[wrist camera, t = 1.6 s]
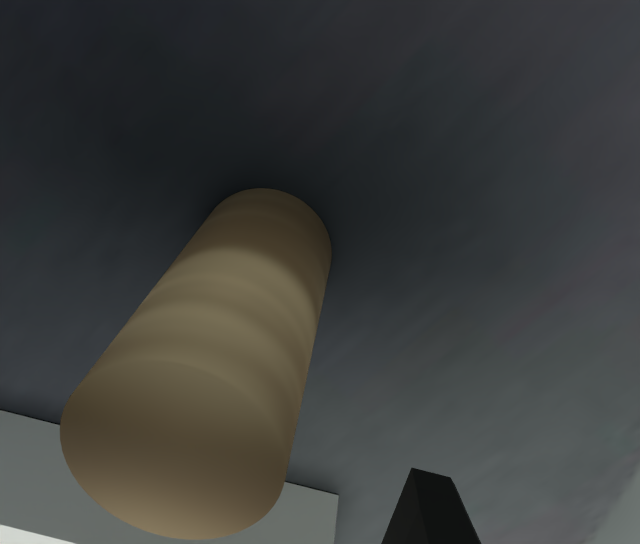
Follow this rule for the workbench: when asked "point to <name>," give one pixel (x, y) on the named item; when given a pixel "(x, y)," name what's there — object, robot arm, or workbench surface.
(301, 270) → the peg
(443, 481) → the robot arm
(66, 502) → the socket block
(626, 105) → the workbench surface
